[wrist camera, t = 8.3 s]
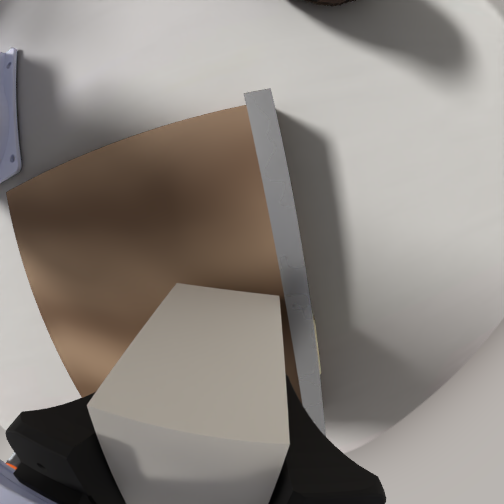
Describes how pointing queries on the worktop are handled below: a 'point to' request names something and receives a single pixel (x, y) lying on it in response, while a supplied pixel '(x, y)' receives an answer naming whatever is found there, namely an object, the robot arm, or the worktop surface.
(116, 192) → the brown flat panel
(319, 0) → the mate gourd
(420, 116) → the worktop surface
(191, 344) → the carton
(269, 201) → the rail
